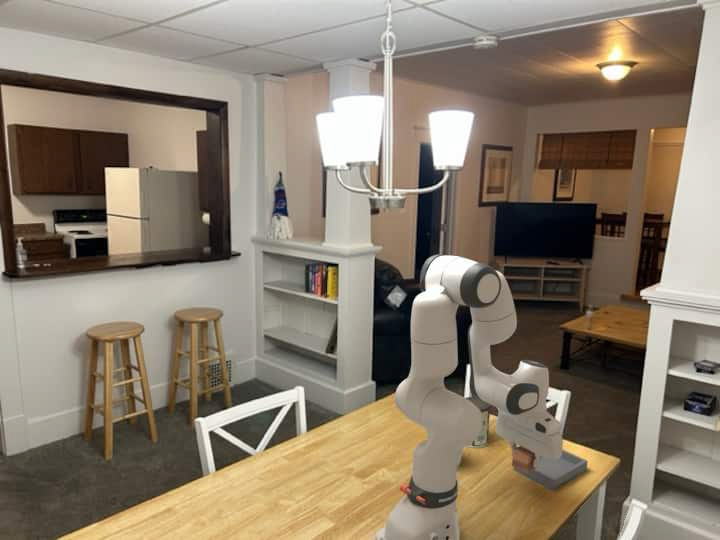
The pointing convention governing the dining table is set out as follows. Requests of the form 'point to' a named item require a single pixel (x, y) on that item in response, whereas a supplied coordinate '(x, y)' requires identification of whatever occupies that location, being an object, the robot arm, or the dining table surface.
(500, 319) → the robot arm
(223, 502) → the dining table surface
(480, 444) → the coffee can
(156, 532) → the dining table surface
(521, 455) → the block
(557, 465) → the tray
